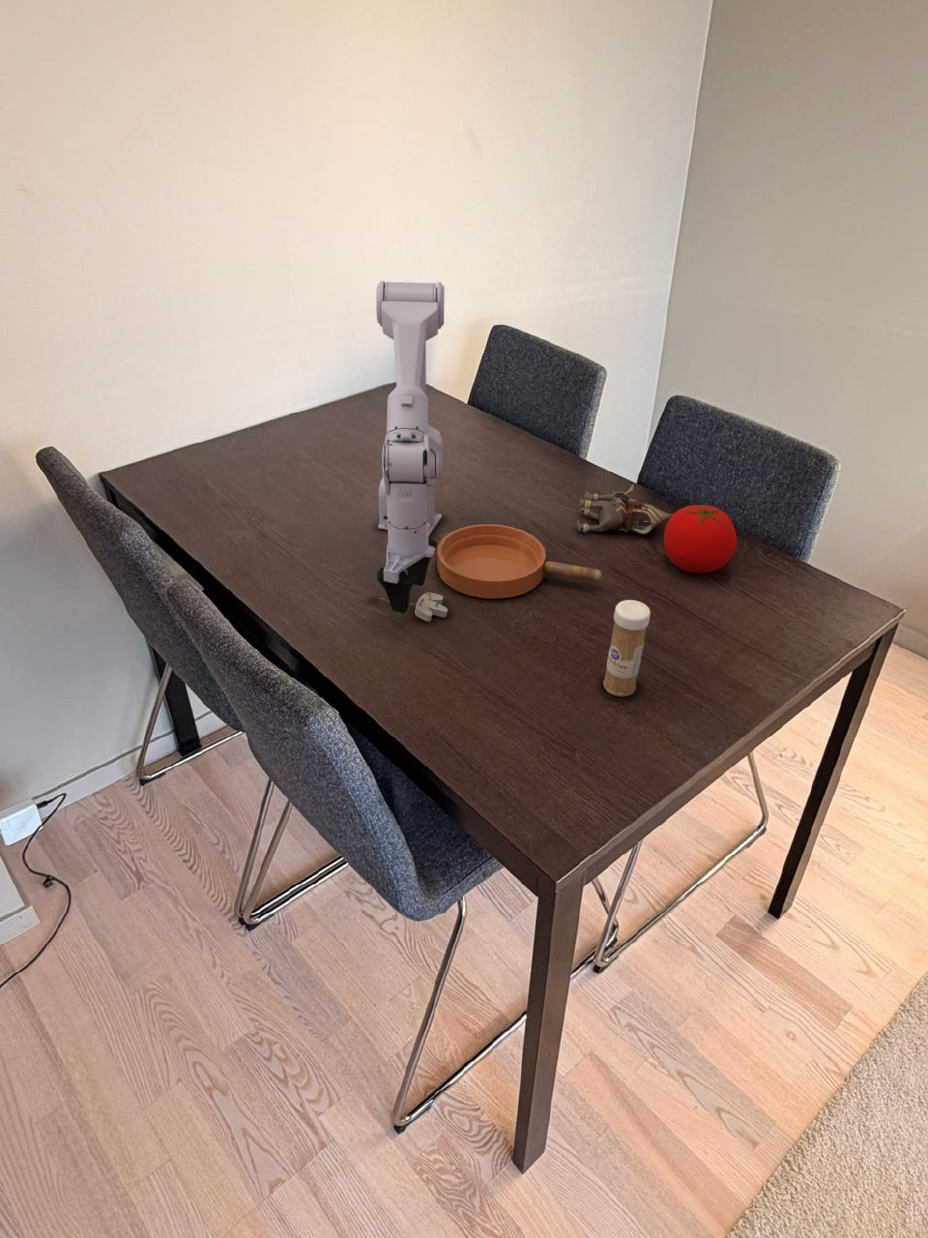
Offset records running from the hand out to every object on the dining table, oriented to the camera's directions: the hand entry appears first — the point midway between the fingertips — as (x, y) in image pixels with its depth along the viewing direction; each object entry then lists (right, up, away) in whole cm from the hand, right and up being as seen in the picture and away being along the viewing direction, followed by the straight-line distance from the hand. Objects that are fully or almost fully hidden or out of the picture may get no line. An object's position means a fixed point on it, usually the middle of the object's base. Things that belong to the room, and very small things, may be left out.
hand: (408, 597), depth 133 cm
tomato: (+47, +6, +14) cm, 50 cm away
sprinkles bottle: (+30, -13, -12) cm, 35 cm away
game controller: (0, -2, +2) cm, 2 cm away
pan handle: (+26, +3, +7) cm, 27 cm away
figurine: (+38, +13, +24) cm, 46 cm away
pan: (+13, +5, +11) cm, 18 cm away
